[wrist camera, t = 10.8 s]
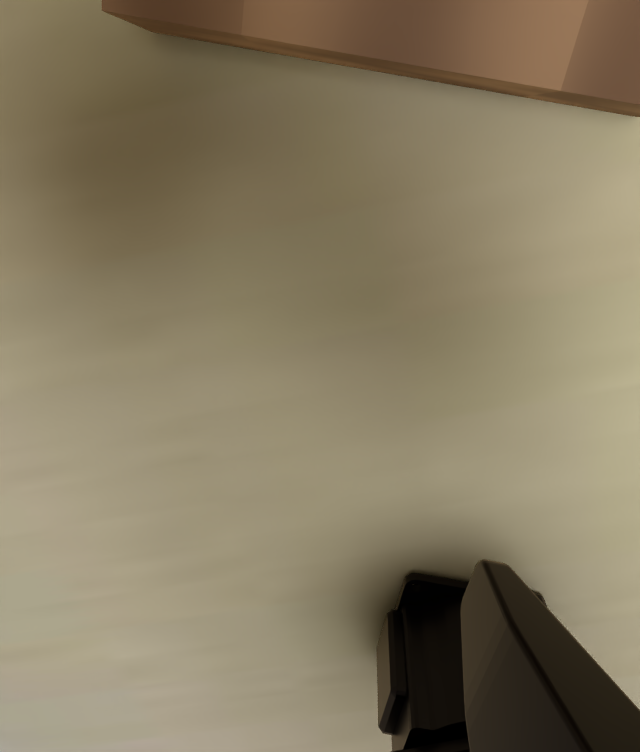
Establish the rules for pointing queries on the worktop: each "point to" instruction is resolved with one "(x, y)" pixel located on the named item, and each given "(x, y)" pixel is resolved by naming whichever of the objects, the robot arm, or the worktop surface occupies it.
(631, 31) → the socket block
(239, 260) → the worktop surface
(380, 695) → the robot arm
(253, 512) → the worktop surface
